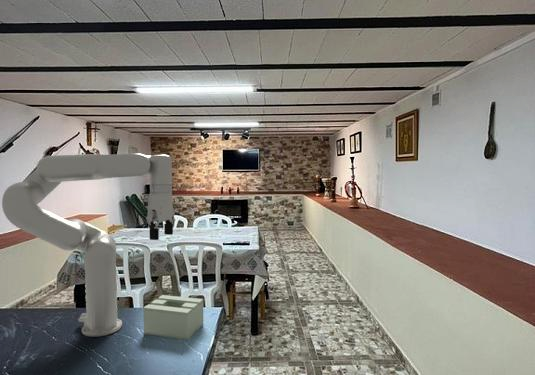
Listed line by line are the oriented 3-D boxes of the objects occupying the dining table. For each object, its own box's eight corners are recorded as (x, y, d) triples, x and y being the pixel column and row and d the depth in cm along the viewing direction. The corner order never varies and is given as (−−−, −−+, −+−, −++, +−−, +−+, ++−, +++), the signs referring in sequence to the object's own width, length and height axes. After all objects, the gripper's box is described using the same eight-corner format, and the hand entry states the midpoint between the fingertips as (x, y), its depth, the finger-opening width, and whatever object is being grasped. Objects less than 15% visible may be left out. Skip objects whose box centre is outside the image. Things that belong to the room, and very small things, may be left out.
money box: (143, 334, 118) (143, 307, 117) (162, 319, 129) (162, 294, 129) (187, 340, 114) (187, 312, 113) (203, 323, 126) (203, 299, 125)
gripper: (164, 187, 136) (164, 232, 137) (137, 191, 119) (138, 241, 120) (182, 188, 134) (182, 233, 135) (157, 191, 117) (158, 242, 118)
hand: (161, 236), depth 127 cm, fingers open, 9 cm apart
